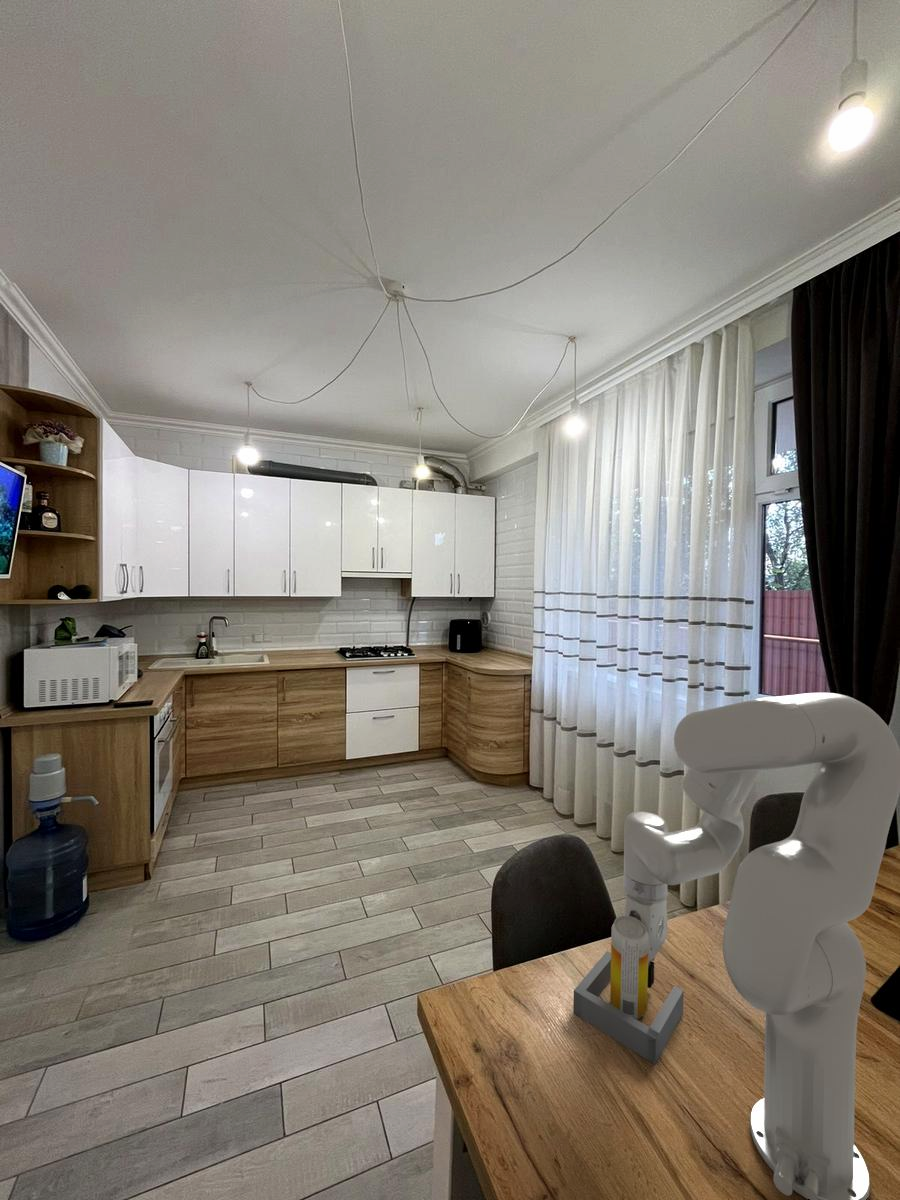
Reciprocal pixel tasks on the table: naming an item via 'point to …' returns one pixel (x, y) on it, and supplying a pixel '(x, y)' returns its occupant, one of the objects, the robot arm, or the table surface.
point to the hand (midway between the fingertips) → (643, 981)
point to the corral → (619, 1023)
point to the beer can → (629, 966)
